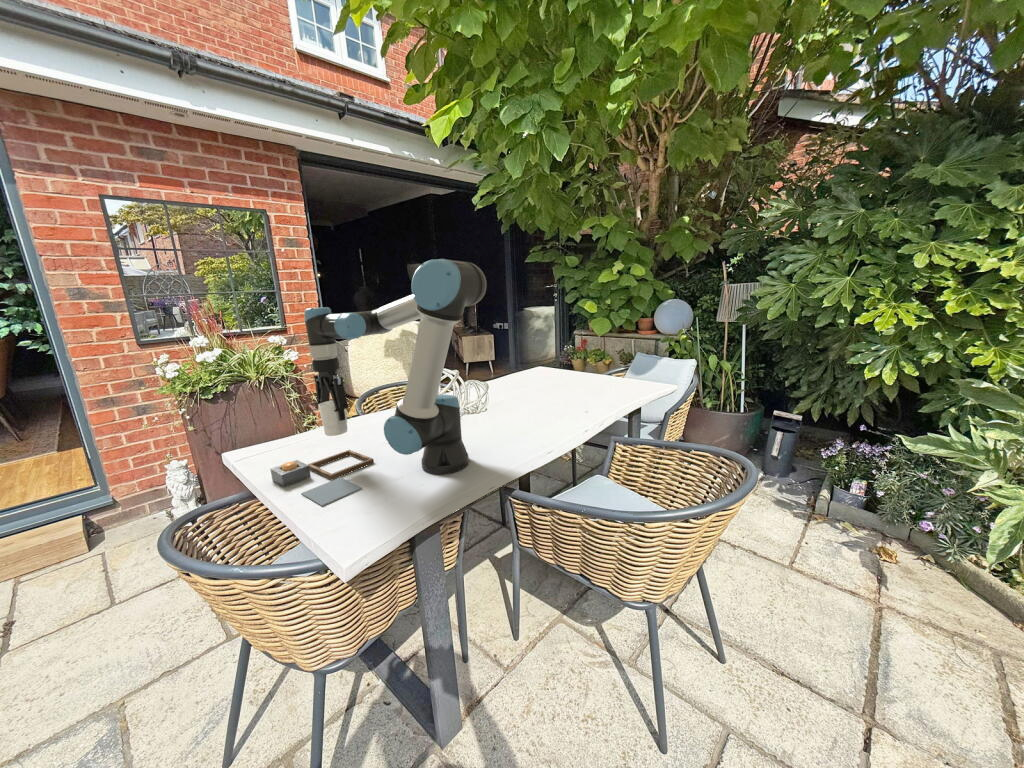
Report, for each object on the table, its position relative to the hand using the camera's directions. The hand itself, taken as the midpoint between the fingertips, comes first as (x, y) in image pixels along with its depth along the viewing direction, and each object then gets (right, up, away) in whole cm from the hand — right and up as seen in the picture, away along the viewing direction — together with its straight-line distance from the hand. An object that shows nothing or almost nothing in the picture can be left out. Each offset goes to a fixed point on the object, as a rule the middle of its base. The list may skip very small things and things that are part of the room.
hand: (335, 427), depth 128 cm
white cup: (0, -2, 0) cm, 2 cm away
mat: (+5, -17, -14) cm, 23 cm away
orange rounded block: (-11, -14, -5) cm, 19 cm away
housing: (-11, -15, -5) cm, 20 cm away
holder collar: (0, -13, +3) cm, 13 cm away
